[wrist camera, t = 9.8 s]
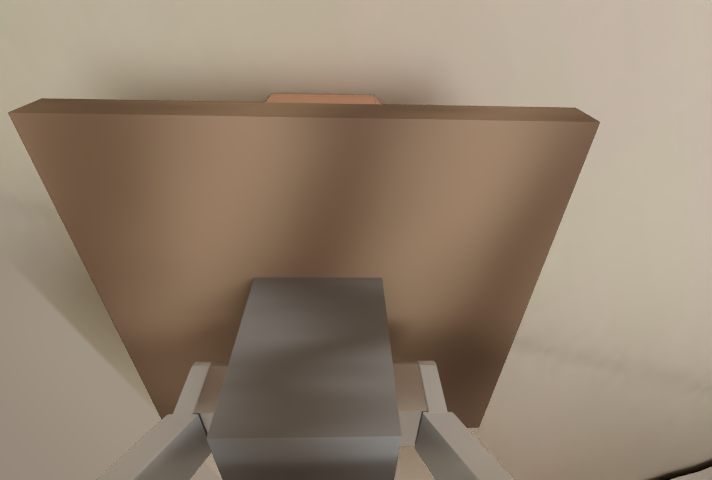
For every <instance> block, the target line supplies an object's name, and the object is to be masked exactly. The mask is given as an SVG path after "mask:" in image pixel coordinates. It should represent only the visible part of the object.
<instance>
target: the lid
mask: <svg viewBox="0 0 712 480" xmlns="http://www.w3.org/2000/svg"><path fill="white" fill-rule="evenodd" d="M8 114H9V116H10V118H11V120H12V122H13V124H14V126H15V128H16V130H17V132H18V134H19V136H20V138H21V140H22V142H23V144H24V146H25V148H26V150H27V152H28V154H29V156H30V158H31V160H32V162H33V164H34V166H35V168H36V170H37V172H38V174H39V176H40V178H41V180H42V182H43V184H44V186H45V188H46V190H47V192H48V194H49V196H50V198H51V200H52V202H53V204H54V206H55V208H56V210H57V212H58V214H59V216H60V218H61V220H62V222H63V223H64V225H65V227H66V229H67V231H68V233H69V235H70V237H71V239H72V241H73V243H74V245H75V247H76V249H77V251H78V253H79V255H80V257H81V259H82V261H83V263H84V265H85V267H86V269H87V271H88V273H89V275H90V277H91V279H92V281H93V283H94V285H95V287H96V289H97V291H98V293H99V295H100V297H101V299H102V301H103V303H104V305H105V307H106V309H107V311H108V313H109V315H110V317H111V319H112V321H113V323H114V325H115V327H116V329H117V331H118V333H119V335H120V337H121V339H122V341H123V343H124V345H125V347H126V349H127V351H128V353H129V355H130V357H131V359H132V361H133V363H134V365H135V367H136V369H137V371H138V373H139V375H140V377H141V379H142V381H143V383H144V385H145V387H146V389H147V391H148V393H149V395H150V397H151V399H152V401H153V403H154V405H155V407H156V409H157V411H158V413H159V415H160V417H161V419H163V418H164V417H165V416H166V415H167V414H173V412H174V410H175V407H176V405H177V402H178V400H179V397H180V395H181V392H182V390H183V387H184V384H185V382H186V379H187V377H188V374H189V372H190V369H191V367H192V366H193V364H194V363H195V362H229V364H228V368H227V371H226V374H225V378H224V381H223V384H222V388H221V391H220V395H219V398H218V401H217V405H216V408H215V411H214V415H213V418H212V421H211V425H210V428H209V431H208V435H207V438H206V439H207V441H208V444H209V447H210V449H211V452H212V454H213V457H214V459H215V462H216V464H217V467H218V469H219V472H220V474H221V477H222V479H223V480H394V476H395V471H396V465H397V460H398V454H399V449H400V443H401V437H402V435H401V427H400V419H399V410H398V402H397V394H396V386H395V378H394V369H393V361H408V360H417V361H434V362H435V363H436V366H437V370H438V374H439V378H440V382H441V387H442V391H443V395H444V399H445V404H446V408H447V412H453V413H454V414H455V415H456V416H457V418H458V419H459V420H460V421H461V422H462V423H463V424H464V425H465V426H466V427H467V428H479V426H480V424H481V421H482V418H483V416H484V413H485V411H486V408H487V406H488V403H489V401H490V398H491V396H492V393H493V391H494V388H495V386H496V383H497V381H498V378H499V376H500V373H501V371H502V368H503V366H504V363H505V361H506V358H507V356H508V353H509V350H510V348H511V345H512V343H513V340H514V338H515V335H516V333H517V330H518V328H519V325H520V323H521V320H522V318H523V315H524V313H525V310H526V308H527V305H528V303H529V300H530V298H531V295H532V293H533V290H534V287H535V285H536V282H537V280H538V277H539V275H540V272H541V270H542V267H543V265H544V262H545V260H546V257H547V255H548V252H549V250H550V247H551V245H552V242H553V240H554V237H555V235H556V232H557V230H558V227H559V225H560V222H561V219H562V217H563V214H564V212H565V209H566V207H567V204H568V202H569V199H570V197H571V194H572V192H573V189H574V187H575V184H576V182H577V179H578V177H579V174H580V172H581V169H582V167H583V164H584V162H585V159H586V156H587V154H588V151H589V149H590V146H591V144H592V141H593V139H594V136H595V134H596V131H597V129H598V126H599V124H600V122H599V121H597V120H596V119H594V118H592V117H591V116H589V115H587V114H585V113H584V112H582V111H580V110H579V109H577V108H560V107H503V106H445V105H388V104H330V103H273V102H215V101H158V100H100V99H43V98H42V99H39V100H37V101H35V102H32V103H30V104H27V105H25V106H23V107H20V108H18V109H15V110H13V111H10V112H8Z"/></svg>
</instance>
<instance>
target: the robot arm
mask: <svg viewBox="0 0 712 480" xmlns="http://www.w3.org/2000/svg"><path fill="white" fill-rule="evenodd" d="M228 364H229V362H195V363H194V364H193V366H192V367H191V369H190V372H189V374H188V377H187V379H186V382H185V384H184V387H183V390H182V392H181V395H180V397H179V400H178V402H177V405H176V407H175V410H174V412H173V414H167V415H166V416H165V417H164V418H163V419H162V420H161V421H160V422H159V423H158V424H157V425H155V426H154V427H153V428H152V429H151V430H150V431H149V432H148V433H147V434H146V435H145V436H143V437H142V438H141V439H140V440H139V441H138V442H137V443H136V444H135V445H134V446H133V447H132V448H130V449H129V450H128V451H127V452H126V453H125V454H124V455H123V456H122V457H120V458H119V459H118V460H117V461H116V462H115V463H114V464H113V465H112V466H111V467H110V468H108V469H107V470H106V471H105V472H104V473H103V474H102V475H101V476H100V477H99V478H98V479H96V480H190V478H191V477H192V476H193V475H194V473H195V472H196V471H197V470H198V468H199V467H200V466H201V465H202V463H203V462H204V461H205V460H206V458H207V457H208V456H209V455H210V453H211V449H210V447H209V444H208V441H207V439H206V438H207V435H208V431H209V428H210V425H211V421H212V418H213V415H214V411H215V408H216V405H217V401H218V398H219V395H220V391H221V388H222V384H223V381H224V378H225V374H226V371H227V368H228ZM393 369H394V378H395V386H396V394H397V402H398V410H399V419H400V427H401V435H402V437H401V443H400V446H405V447H415V449H416V451H417V452H418V454H419V455H420V457H421V458H422V460H423V461H424V463H425V464H426V466H427V467H428V469H429V470H430V472H431V473H432V475H433V476H434V478H435V479H436V480H514V479H513V478H512V477H511V476H510V475H509V474H508V472H507V471H506V470H505V469H504V468H503V467H502V466H501V465H500V464H499V463H498V461H497V460H496V459H495V458H494V457H493V456H492V455H491V454H490V453H489V452H488V451H487V449H486V448H485V447H484V446H483V445H482V444H481V443H480V442H479V441H478V440H477V438H476V437H475V436H474V435H473V434H472V433H471V432H470V431H469V430H468V429H467V427H466V426H465V425H464V424H463V423H462V422H461V421H460V420H459V419H458V418H457V416H456V415H455V414H454V413H453V412H447V408H446V404H445V399H444V395H443V391H442V387H441V382H440V378H439V374H438V370H437V366H436V363H435V362H434V361H417V360H408V361H393ZM670 480H712V467H709V468H707V469H705V470H702V471H699V472H696V473H692V474H688V475H684V476H681V477H677V478H673V479H670Z"/></svg>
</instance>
